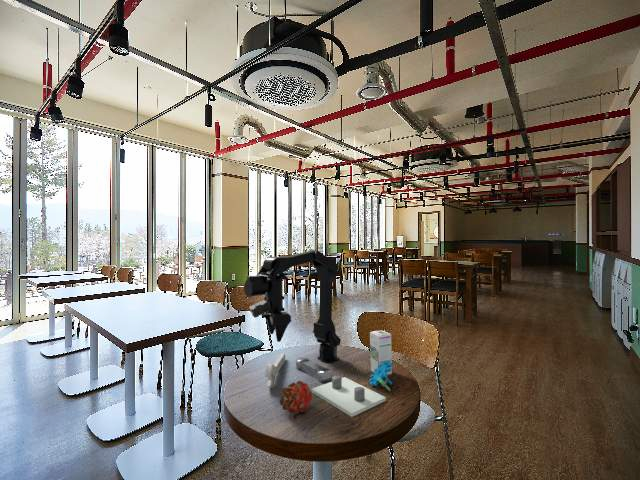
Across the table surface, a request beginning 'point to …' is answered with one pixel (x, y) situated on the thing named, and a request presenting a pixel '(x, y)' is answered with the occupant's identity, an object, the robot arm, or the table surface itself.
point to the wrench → (274, 370)
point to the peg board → (348, 395)
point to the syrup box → (380, 349)
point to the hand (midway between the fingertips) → (275, 337)
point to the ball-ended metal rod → (314, 370)
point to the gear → (381, 375)
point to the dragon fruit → (296, 397)
